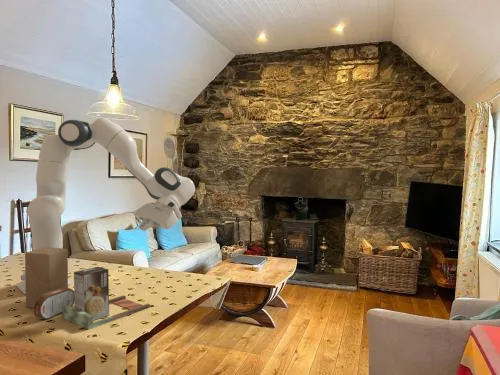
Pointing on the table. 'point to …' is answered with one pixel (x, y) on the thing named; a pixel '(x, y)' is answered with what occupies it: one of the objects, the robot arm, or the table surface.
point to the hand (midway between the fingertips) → (141, 229)
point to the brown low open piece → (87, 319)
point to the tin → (53, 302)
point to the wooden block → (45, 272)
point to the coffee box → (92, 291)
